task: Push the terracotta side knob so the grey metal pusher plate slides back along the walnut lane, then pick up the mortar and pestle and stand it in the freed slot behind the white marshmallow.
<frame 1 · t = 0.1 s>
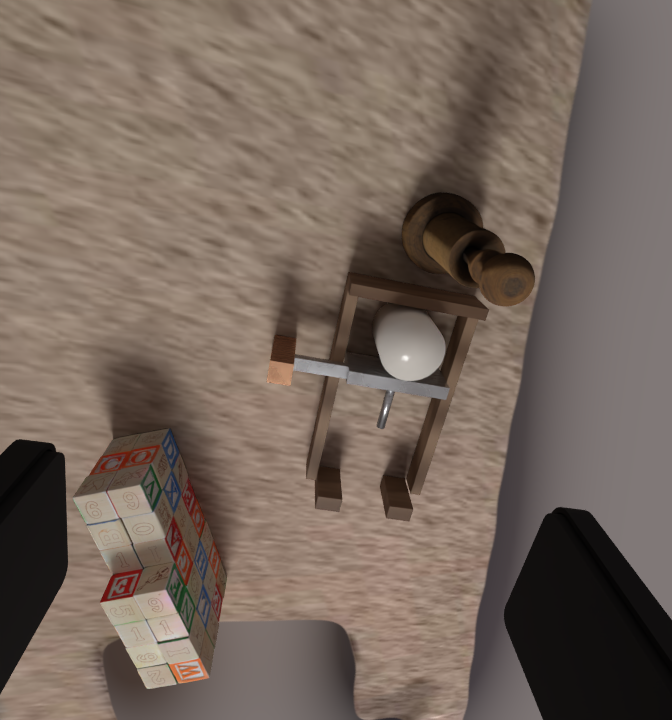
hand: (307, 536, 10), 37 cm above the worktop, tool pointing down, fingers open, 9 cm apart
lane: (383, 390, 50), on the worktop
mortar and pestle: (438, 231, 44), on the worktop
white marshmallow: (400, 326, 47), resting in lane
pusher: (353, 394, 46), point 3 cm above the worktop, slide at 0.0 cm
stack of blocks: (175, 512, 55), on the worktop
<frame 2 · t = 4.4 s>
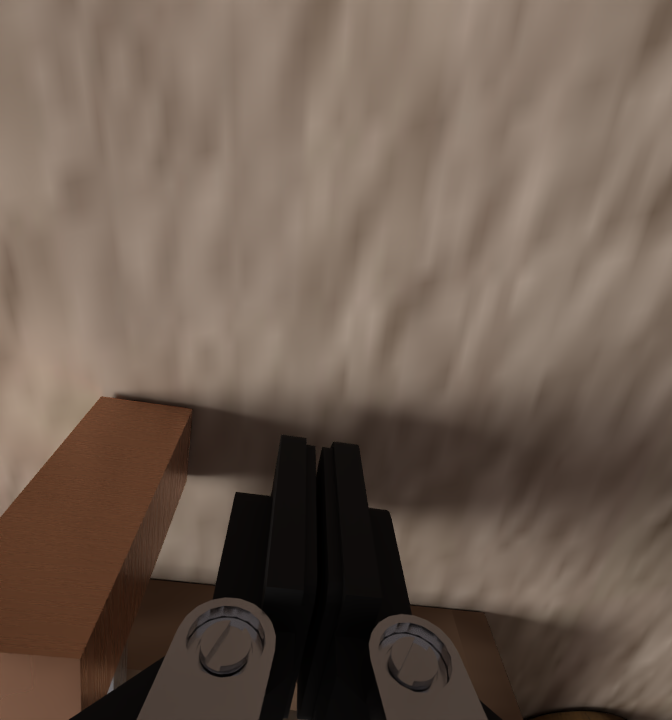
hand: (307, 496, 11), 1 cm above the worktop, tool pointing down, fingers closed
lane: (92, 716, 16), on the worktop
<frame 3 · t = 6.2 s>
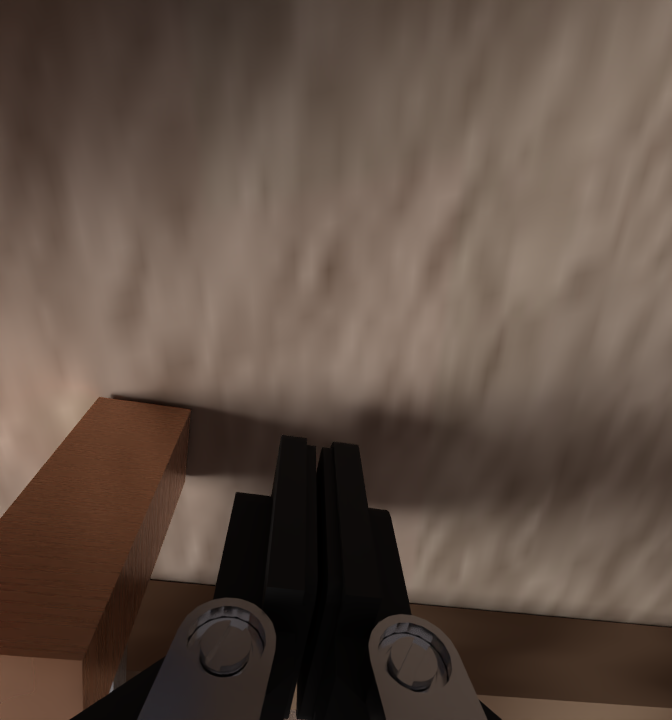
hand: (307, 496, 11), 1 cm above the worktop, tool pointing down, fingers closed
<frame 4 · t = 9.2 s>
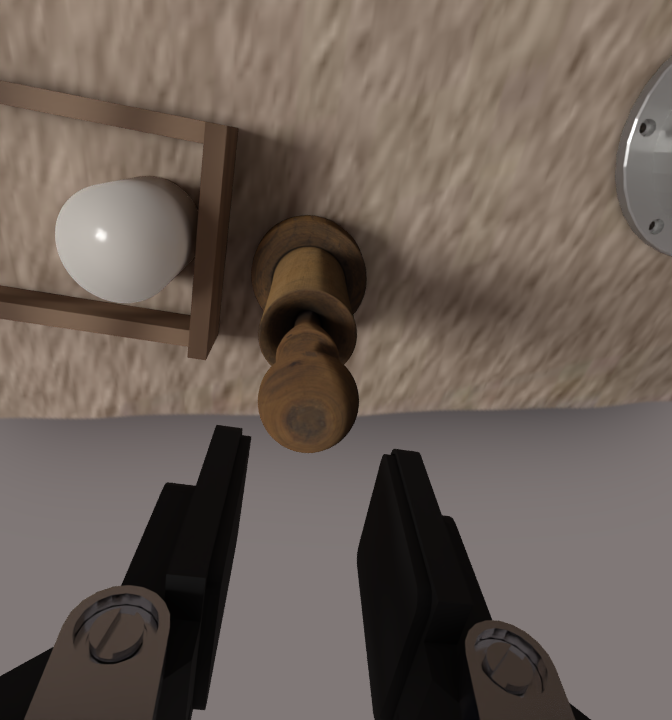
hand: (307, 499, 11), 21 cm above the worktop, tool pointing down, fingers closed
lane: (28, 205, 28), on the worktop
mortar and pestle: (309, 270, 30), on the worktop
white marshmallow: (153, 226, 29), resting in lane
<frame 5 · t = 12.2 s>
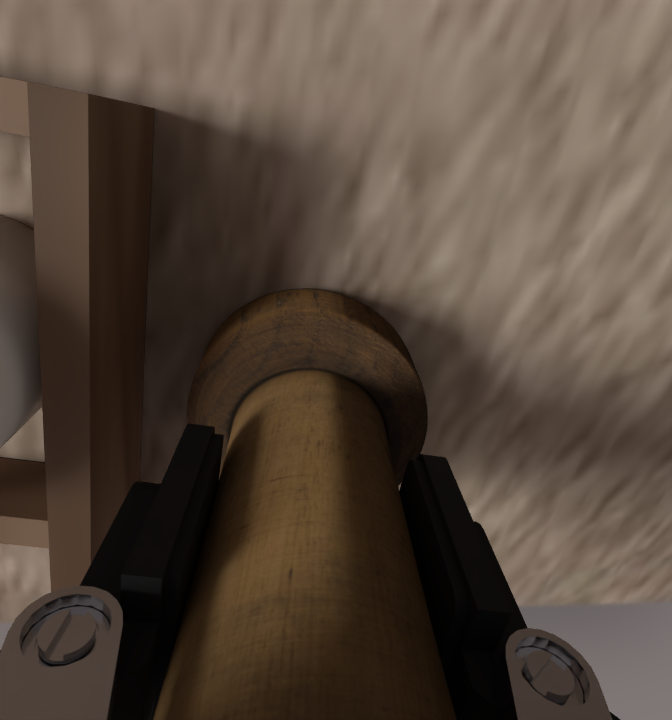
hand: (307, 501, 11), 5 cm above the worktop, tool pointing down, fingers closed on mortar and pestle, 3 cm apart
mortar and pestle: (309, 386, 16), on the worktop, touching gripper
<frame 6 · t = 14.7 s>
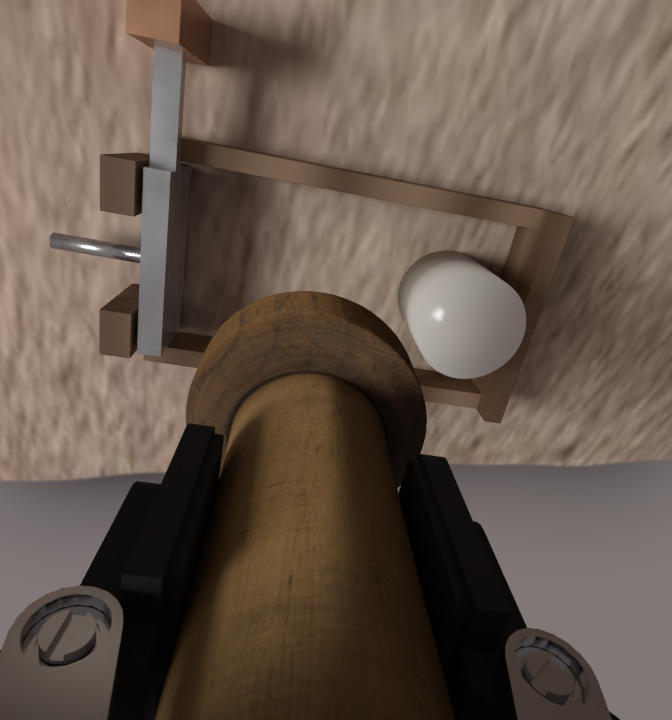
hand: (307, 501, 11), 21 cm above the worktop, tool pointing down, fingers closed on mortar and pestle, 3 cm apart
lane: (333, 277, 30), on the worktop
mortar and pestle: (307, 388, 16), point 15 cm above the worktop, touching gripper
white marshmallow: (442, 295, 31), resting in lane
pusher: (116, 183, 24), point 3 cm above the worktop, slide at 12.0 cm
when the fingers open (7 cm above the worktop, at t = 17.3 s): mortar and pestle drops 2 cm, resting in lane.
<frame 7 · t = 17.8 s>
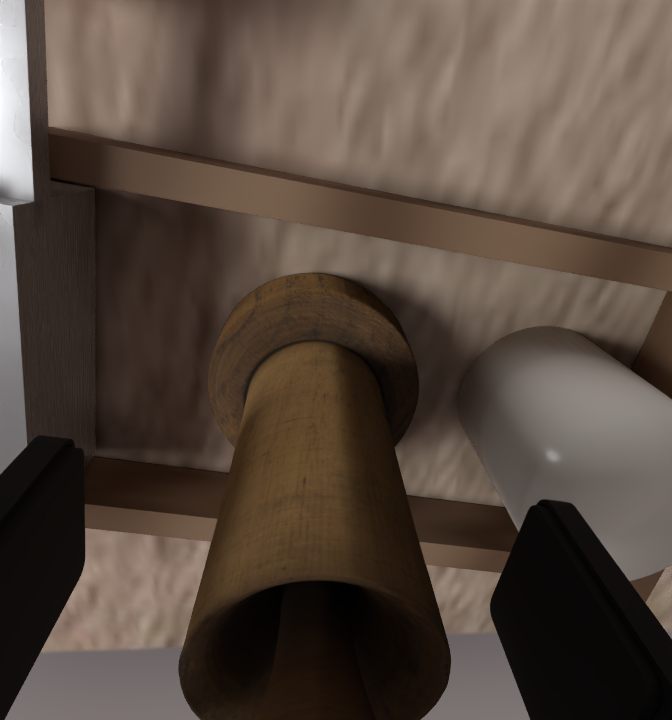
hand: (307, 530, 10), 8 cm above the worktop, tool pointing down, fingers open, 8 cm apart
lane: (351, 370, 18), on the worktop
mortar and pestle: (313, 362, 18), resting in lane
white marshmallow: (532, 396, 18), resting in lane
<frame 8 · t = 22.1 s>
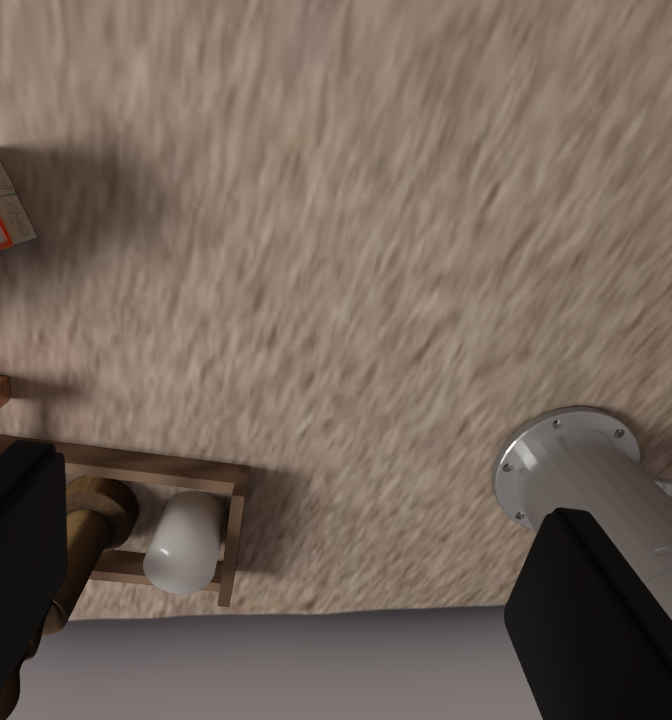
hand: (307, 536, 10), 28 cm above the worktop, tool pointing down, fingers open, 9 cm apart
lane: (116, 507, 44), on the worktop
mortar and pestle: (101, 503, 44), resting in lane
white marshmallow: (195, 515, 45), resting in lane
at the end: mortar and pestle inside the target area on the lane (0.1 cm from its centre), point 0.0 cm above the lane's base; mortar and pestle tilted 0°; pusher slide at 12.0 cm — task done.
